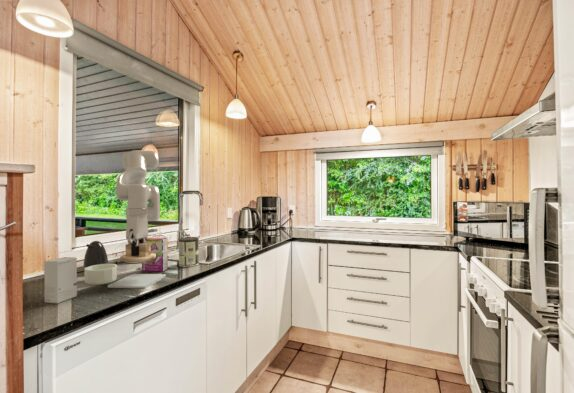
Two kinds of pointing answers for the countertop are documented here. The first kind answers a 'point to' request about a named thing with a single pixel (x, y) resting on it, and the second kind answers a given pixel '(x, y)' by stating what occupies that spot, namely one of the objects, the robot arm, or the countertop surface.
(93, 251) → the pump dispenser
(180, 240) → the coffee can
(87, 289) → the countertop surface
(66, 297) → the skincare box
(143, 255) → the lid
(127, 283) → the mat
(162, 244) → the candy bar box
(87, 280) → the bowl
